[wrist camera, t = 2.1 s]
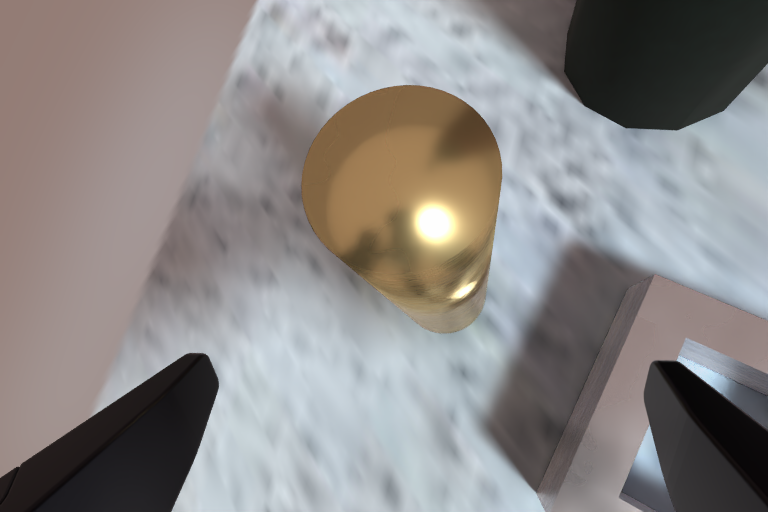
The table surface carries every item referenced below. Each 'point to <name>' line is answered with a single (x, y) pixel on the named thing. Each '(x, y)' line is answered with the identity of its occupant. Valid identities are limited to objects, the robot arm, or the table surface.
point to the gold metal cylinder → (409, 200)
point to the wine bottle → (664, 57)
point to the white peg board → (627, 382)
